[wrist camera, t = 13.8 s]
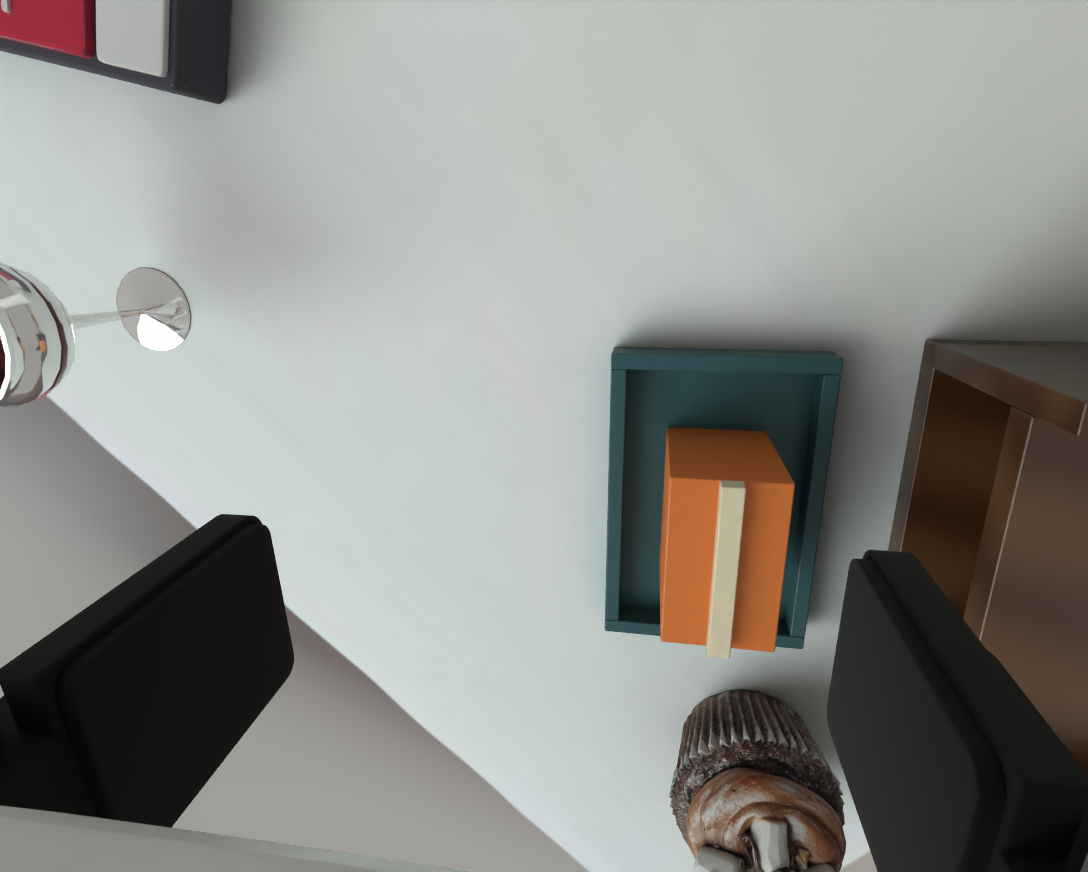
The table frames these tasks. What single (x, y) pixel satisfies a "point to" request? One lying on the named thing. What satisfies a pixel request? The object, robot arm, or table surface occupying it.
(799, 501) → the tray
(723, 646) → the packet
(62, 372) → the wineglass
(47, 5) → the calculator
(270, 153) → the table surface
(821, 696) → the table surface
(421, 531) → the table surface
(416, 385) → the table surface
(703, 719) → the cupcake
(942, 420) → the shelf
